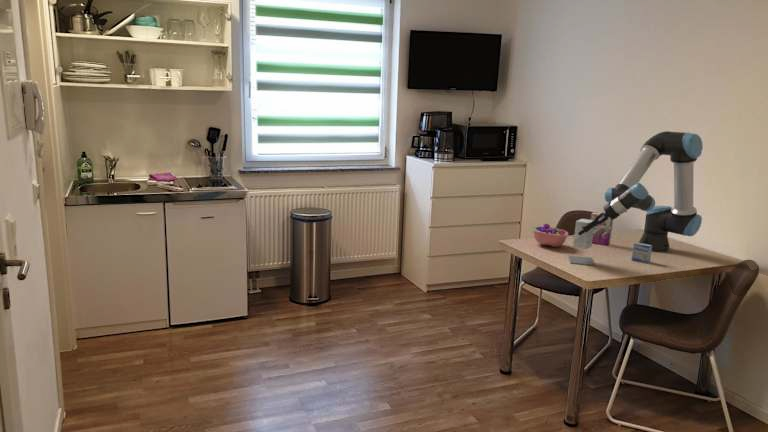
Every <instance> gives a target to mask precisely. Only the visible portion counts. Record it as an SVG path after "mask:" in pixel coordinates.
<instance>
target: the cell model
mask: <svg viewBox="0 0 768 432" xmlns="http://www.w3.org/2000/svg"><path fill="white" fill-rule="evenodd" d="M532 233H533V238H534V239H535V241H536V242H537V243H538V244H540V245H543V246H547V247H551V248H557V247H560V246H562V245H564V244H565V243H566V240H567V238H568V237H569V232H568V231H566V230H564V229H563V228H562V229H561V228H558V227H557V228H556V227H551V225H550V224H548V223H543V224H541V226H537V227H533V228H532Z"/></svg>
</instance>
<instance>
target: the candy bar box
mask: <svg viewBox="0 0 768 432" xmlns="http://www.w3.org/2000/svg"><path fill="white" fill-rule="evenodd" d="M601 213H602V212H601ZM601 213H600V212H593V211H592V213H590V219H589V220H593V221H594V220H595V218H596V217H598V216H599V215H600V214H601ZM613 224H614V219H611V218H610V217H608V219H607V220H606V221H604V222H602V223H601V224H598V225H596V226H595V227H594V228H595V229H594V231H593V239H592V244H597V245H602V246H608V247H609V245H610V244H611V239H612V232H613V230H612V229H613Z"/></svg>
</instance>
